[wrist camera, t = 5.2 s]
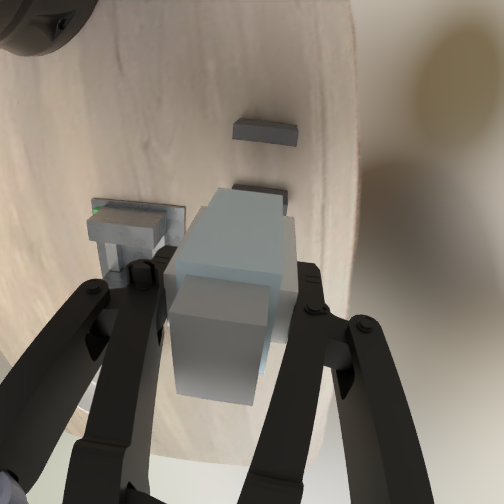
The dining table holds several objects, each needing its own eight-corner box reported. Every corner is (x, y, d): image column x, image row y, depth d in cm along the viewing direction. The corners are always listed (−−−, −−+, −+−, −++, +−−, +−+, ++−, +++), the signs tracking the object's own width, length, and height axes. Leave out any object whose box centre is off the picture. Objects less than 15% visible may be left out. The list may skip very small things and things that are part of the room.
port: (93, 198, 36) (71, 214, 31) (185, 206, 35) (171, 226, 31) (104, 278, 42) (88, 300, 37) (186, 293, 41) (175, 318, 37)
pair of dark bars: (239, 118, 30) (233, 123, 26) (296, 125, 30) (298, 131, 26) (232, 196, 34) (226, 211, 31) (285, 203, 34) (285, 218, 30)
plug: (218, 188, 17) (156, 295, 9) (282, 195, 17) (282, 313, 9) (214, 266, 20) (168, 399, 11) (271, 273, 20) (260, 413, 11)
